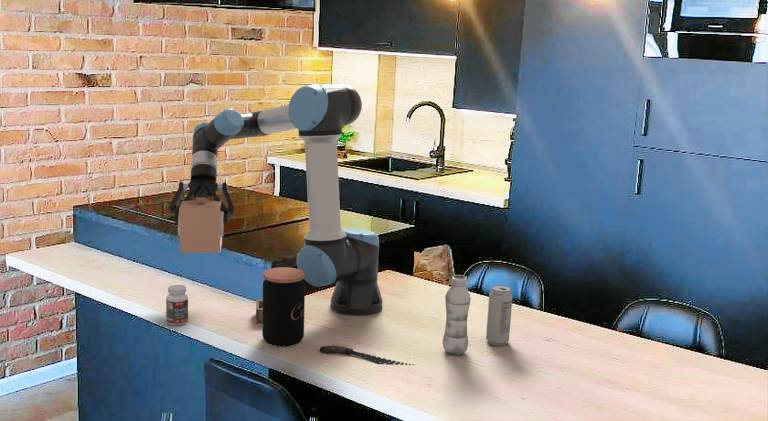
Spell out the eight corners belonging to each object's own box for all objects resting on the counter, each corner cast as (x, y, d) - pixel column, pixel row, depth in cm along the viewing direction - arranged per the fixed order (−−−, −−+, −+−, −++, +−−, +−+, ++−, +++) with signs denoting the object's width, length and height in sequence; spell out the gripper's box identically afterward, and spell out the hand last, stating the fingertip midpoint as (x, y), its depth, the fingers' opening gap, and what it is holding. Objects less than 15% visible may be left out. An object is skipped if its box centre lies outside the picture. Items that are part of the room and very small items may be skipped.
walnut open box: (291, 312, 227) (291, 299, 226) (292, 322, 220) (293, 309, 219) (256, 313, 226) (256, 299, 225) (256, 323, 218) (256, 309, 217)
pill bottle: (177, 327, 213) (176, 292, 211) (161, 323, 216) (161, 287, 214) (192, 321, 218) (192, 286, 215) (177, 317, 221) (177, 282, 218)
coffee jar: (296, 349, 201) (297, 281, 198) (256, 344, 203) (256, 277, 200) (309, 334, 212) (310, 269, 208) (270, 330, 214) (271, 265, 210)
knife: (422, 379, 191) (429, 369, 195) (423, 372, 190) (429, 363, 195) (315, 356, 199) (323, 347, 204) (315, 349, 199) (324, 341, 203)
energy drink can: (495, 336, 216) (499, 283, 212) (513, 343, 212) (517, 288, 208) (481, 341, 212) (484, 287, 208) (499, 348, 207) (503, 293, 204)
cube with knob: (222, 242, 237) (221, 194, 234) (220, 252, 226) (219, 202, 223) (184, 242, 235) (183, 194, 232) (180, 253, 225) (179, 202, 221)
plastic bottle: (451, 359, 199) (455, 282, 195) (437, 349, 205) (441, 274, 201) (472, 355, 202) (477, 279, 198) (458, 345, 208) (462, 272, 204)
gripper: (244, 177, 243) (242, 239, 232) (164, 176, 240) (159, 240, 228) (243, 163, 237) (242, 226, 225) (162, 161, 234) (156, 226, 222)
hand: (200, 233), depth 227 cm, fingers closed on cube with knob, 11 cm apart
